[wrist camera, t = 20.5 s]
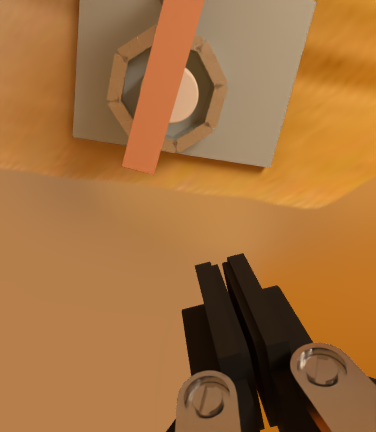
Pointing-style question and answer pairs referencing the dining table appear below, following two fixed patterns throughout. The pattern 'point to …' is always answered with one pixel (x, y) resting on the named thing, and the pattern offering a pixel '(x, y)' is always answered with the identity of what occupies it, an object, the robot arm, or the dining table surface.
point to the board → (199, 71)
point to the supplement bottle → (184, 98)
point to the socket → (212, 102)
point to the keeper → (161, 82)
